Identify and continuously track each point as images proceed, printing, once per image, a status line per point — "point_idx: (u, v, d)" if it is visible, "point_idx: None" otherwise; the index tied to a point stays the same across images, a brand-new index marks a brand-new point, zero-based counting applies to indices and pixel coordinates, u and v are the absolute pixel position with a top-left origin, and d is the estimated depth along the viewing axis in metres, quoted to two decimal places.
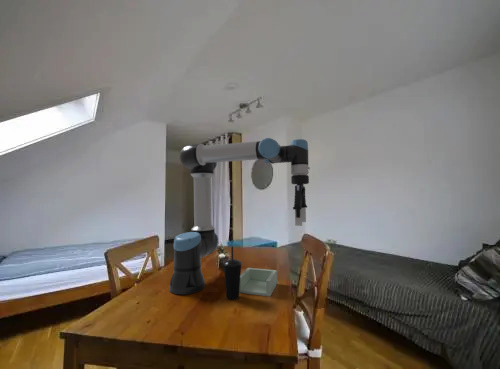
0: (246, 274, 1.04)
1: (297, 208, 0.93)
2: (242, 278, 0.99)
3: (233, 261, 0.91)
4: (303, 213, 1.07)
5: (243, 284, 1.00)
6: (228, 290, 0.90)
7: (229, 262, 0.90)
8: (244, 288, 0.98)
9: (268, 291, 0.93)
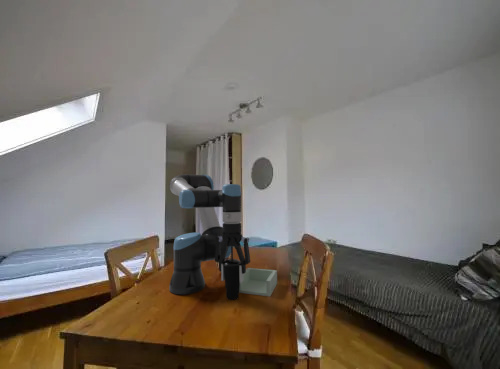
0: (246, 274, 1.04)
1: None
2: None
3: (233, 261, 0.91)
4: None
5: (243, 284, 1.00)
6: (228, 290, 0.90)
7: (229, 262, 0.90)
8: (244, 288, 0.98)
9: (268, 291, 0.93)
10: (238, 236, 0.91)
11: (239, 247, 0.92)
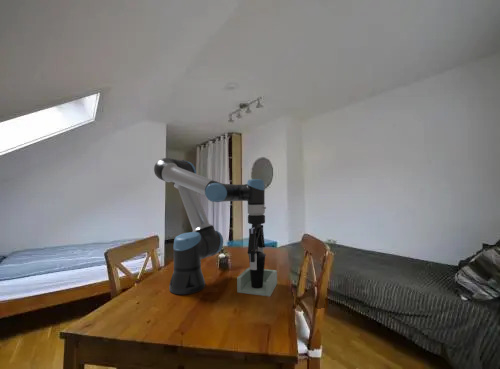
0: (246, 274, 1.04)
1: (251, 253, 0.94)
2: (242, 278, 0.99)
3: (260, 252, 1.02)
4: None
5: (243, 284, 1.00)
6: (262, 278, 0.99)
7: (262, 253, 1.00)
8: (244, 288, 0.98)
9: (268, 291, 0.93)
10: (260, 225, 1.04)
11: None
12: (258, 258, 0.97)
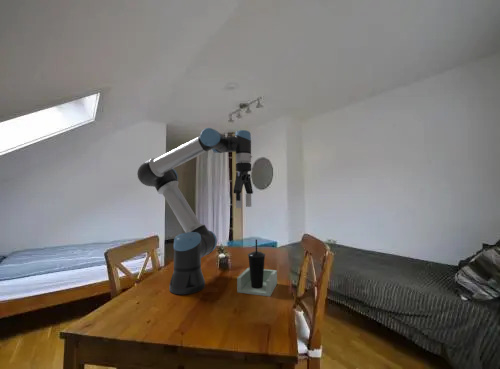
0: (246, 274, 1.04)
1: (236, 192, 1.02)
2: (242, 278, 0.99)
3: None
4: (249, 198, 1.17)
5: (243, 284, 1.00)
6: (262, 278, 0.99)
7: (261, 253, 1.00)
8: (244, 288, 0.98)
9: (268, 291, 0.93)
10: (247, 174, 1.14)
11: None
12: (257, 258, 0.97)
